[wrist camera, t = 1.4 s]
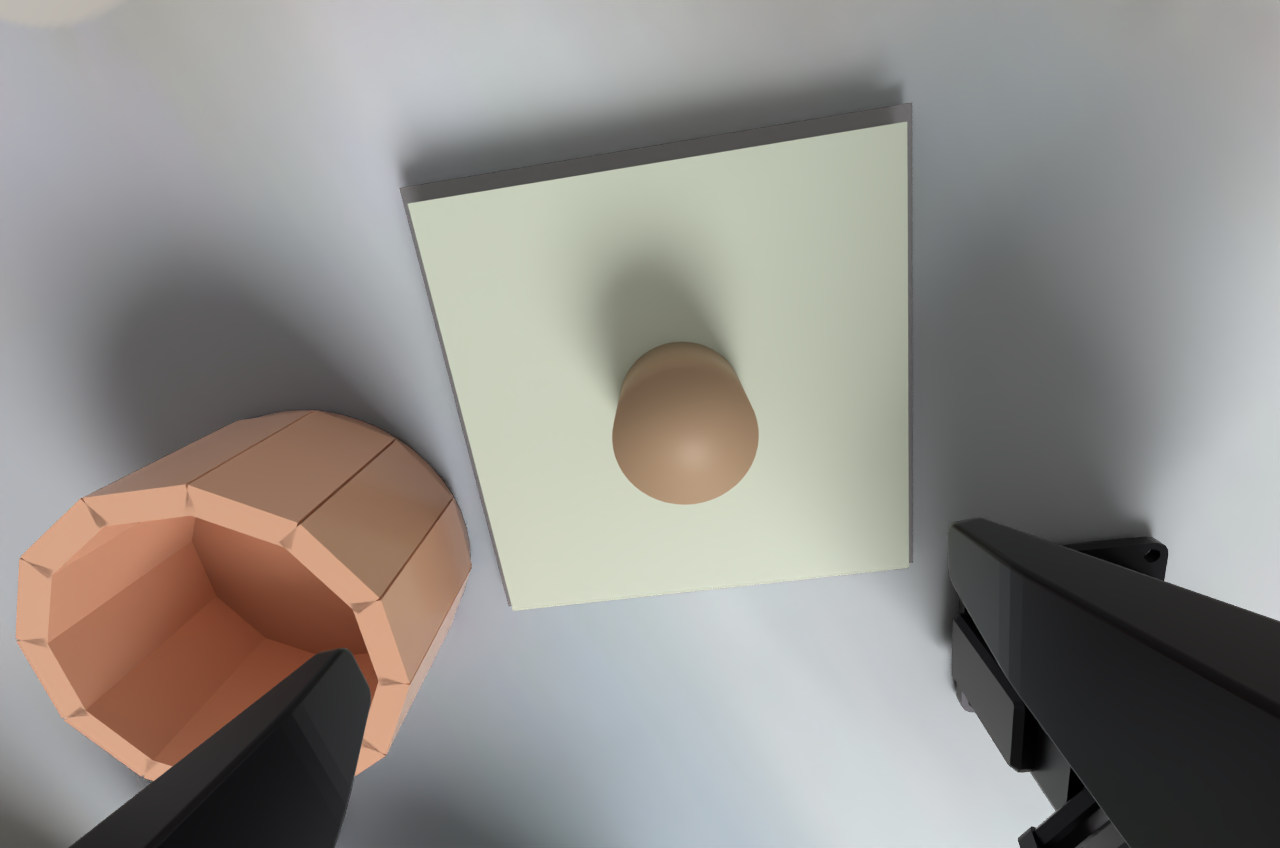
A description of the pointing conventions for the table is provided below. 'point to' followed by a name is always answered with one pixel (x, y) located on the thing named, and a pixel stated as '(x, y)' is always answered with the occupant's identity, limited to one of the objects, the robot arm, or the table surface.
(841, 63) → the table surface
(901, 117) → the mat
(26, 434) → the table surface
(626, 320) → the lid
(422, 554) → the pot
